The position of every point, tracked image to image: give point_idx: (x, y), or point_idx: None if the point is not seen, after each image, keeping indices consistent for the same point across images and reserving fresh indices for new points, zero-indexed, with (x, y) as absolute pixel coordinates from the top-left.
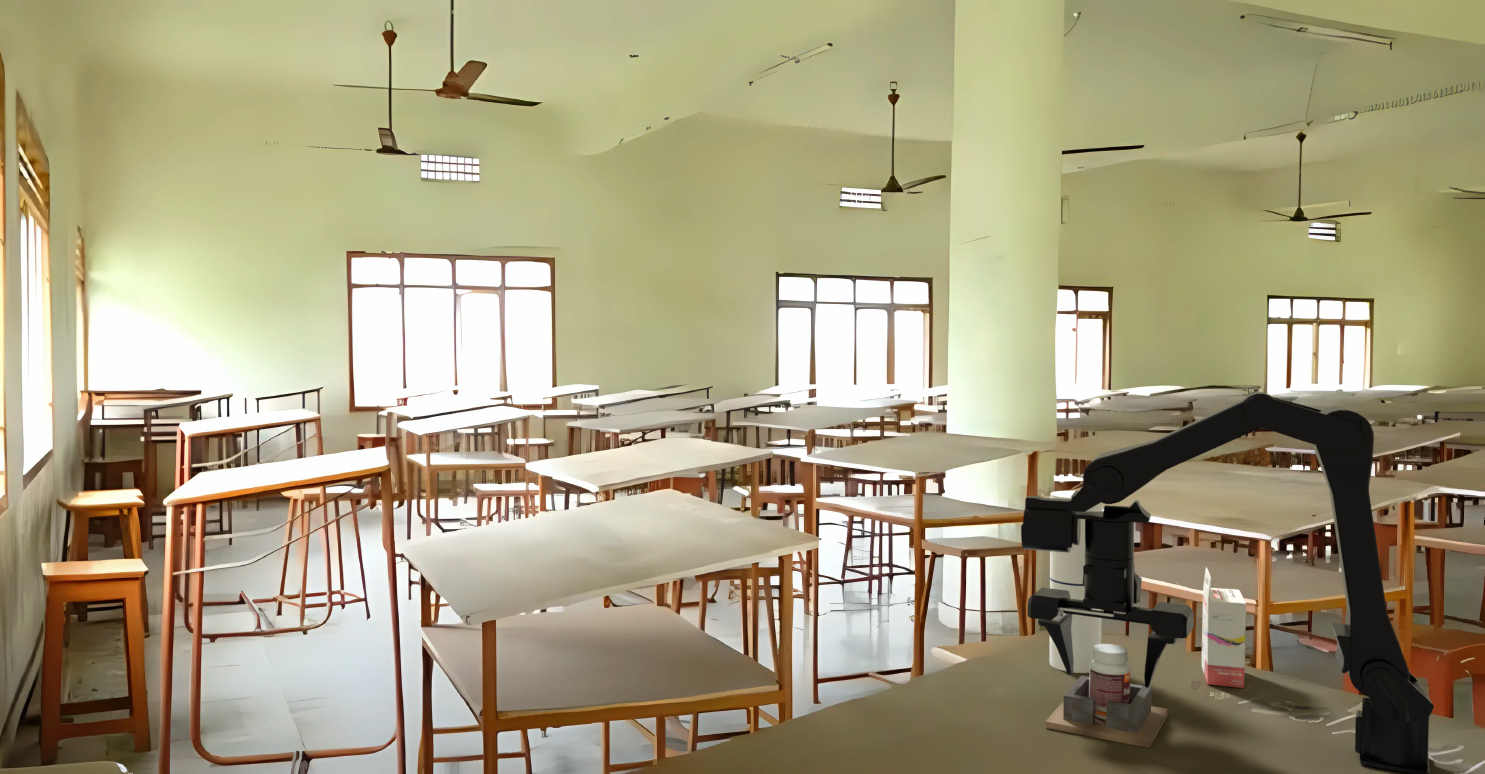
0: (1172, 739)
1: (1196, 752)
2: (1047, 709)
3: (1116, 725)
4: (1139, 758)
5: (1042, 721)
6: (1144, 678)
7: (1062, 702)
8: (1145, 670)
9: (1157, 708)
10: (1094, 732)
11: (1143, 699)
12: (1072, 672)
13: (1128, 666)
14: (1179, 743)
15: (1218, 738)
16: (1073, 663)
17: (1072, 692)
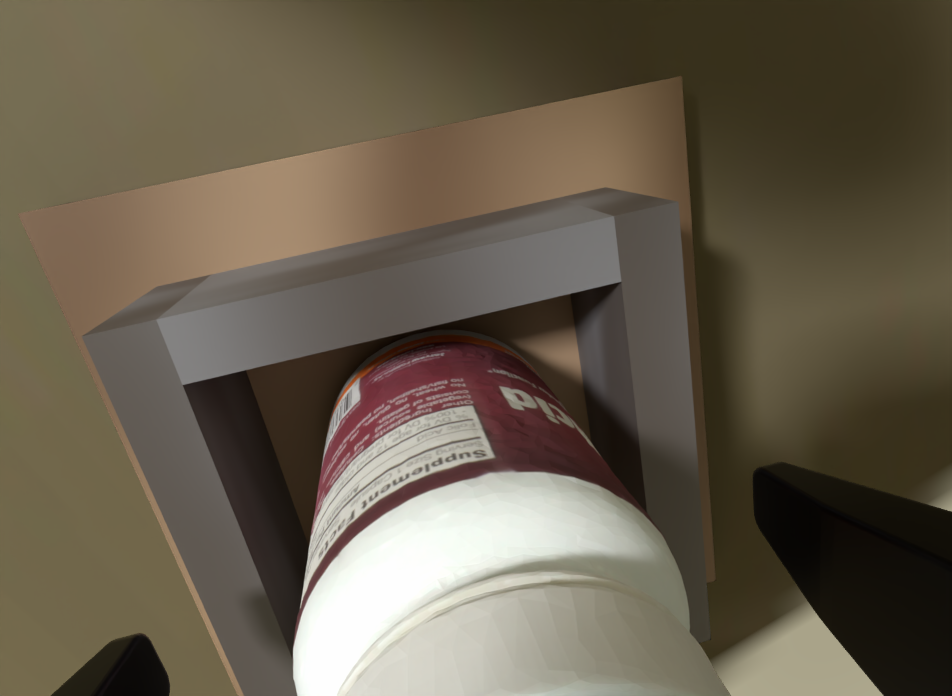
0: (758, 408)
1: (866, 467)
2: (88, 490)
3: None
4: None
5: (189, 636)
6: (807, 600)
7: (125, 439)
8: (883, 688)
9: (625, 116)
10: None
11: (696, 478)
12: (151, 653)
13: (681, 607)
14: (792, 429)
15: (935, 245)
16: (103, 689)
17: (284, 689)
